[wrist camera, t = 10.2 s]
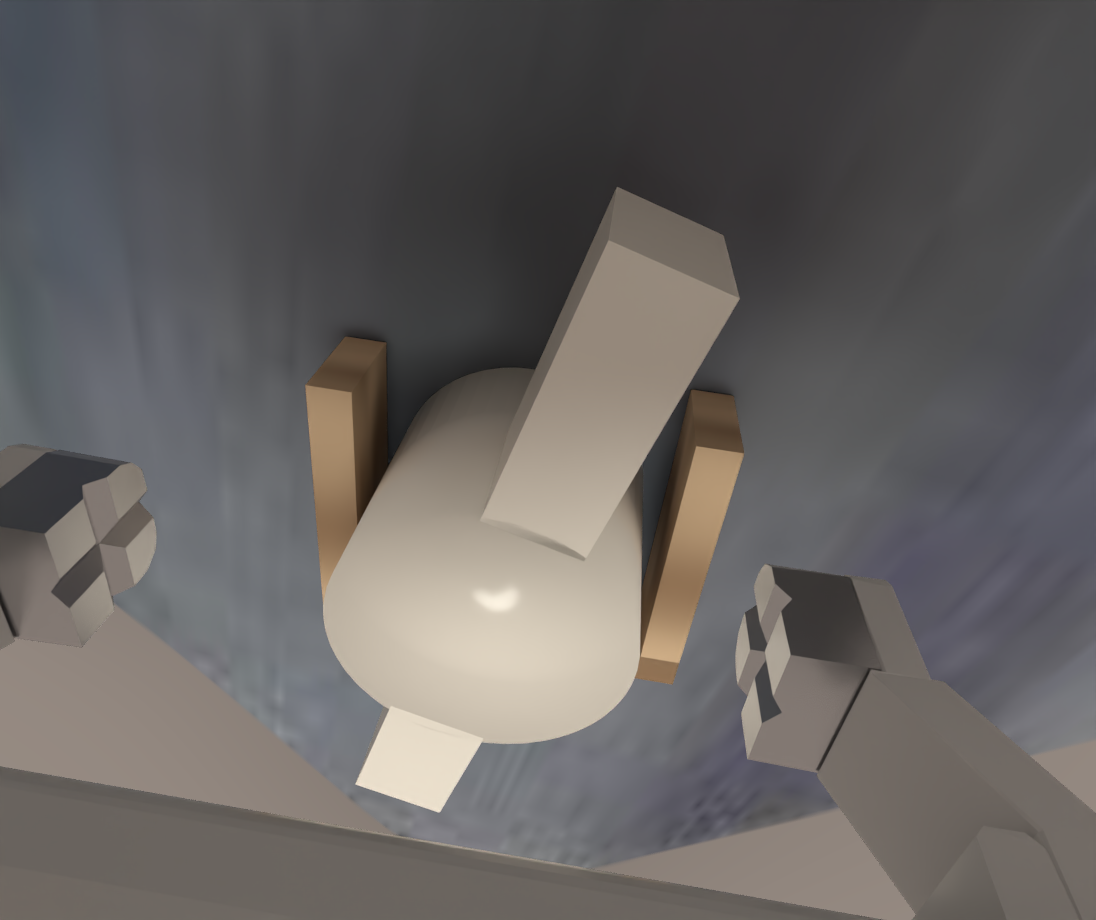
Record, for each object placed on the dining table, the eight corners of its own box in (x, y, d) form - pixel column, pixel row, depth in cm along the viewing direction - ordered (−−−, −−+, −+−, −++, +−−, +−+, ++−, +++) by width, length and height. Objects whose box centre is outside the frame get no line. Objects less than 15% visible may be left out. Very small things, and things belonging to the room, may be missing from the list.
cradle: (345, 336, 22) (305, 385, 19) (733, 395, 21) (744, 453, 19) (355, 563, 26) (324, 626, 24) (670, 615, 26) (672, 684, 24)
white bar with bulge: (806, 235, 19) (875, 359, 13) (545, 658, 28) (518, 839, 22) (522, 104, 18) (459, 173, 12) (353, 587, 27) (272, 756, 21)
